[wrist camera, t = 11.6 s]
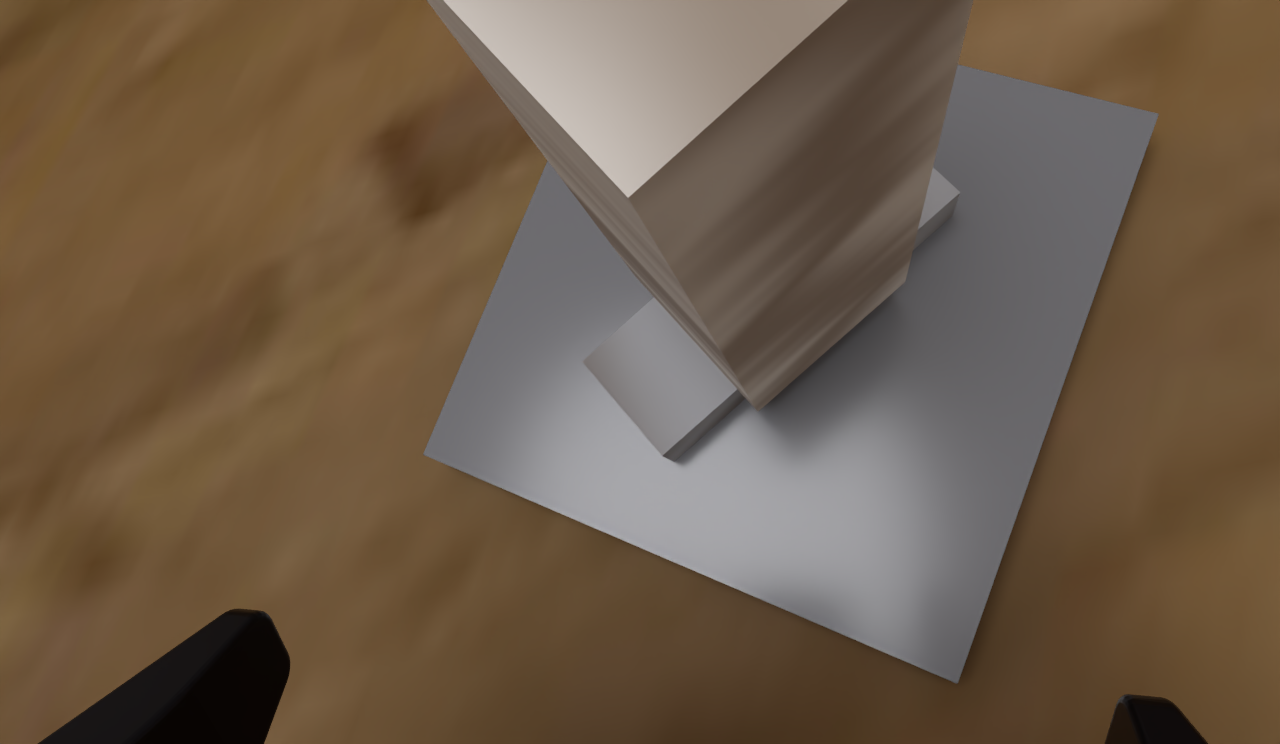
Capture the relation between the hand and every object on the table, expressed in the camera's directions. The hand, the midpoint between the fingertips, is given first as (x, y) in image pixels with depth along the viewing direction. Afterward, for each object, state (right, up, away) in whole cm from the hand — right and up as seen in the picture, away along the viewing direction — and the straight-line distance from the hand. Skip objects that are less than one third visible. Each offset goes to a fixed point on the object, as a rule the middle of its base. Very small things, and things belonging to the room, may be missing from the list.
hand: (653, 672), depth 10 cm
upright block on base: (+3, +5, +13) cm, 14 cm away
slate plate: (+3, +5, +14) cm, 16 cm away
